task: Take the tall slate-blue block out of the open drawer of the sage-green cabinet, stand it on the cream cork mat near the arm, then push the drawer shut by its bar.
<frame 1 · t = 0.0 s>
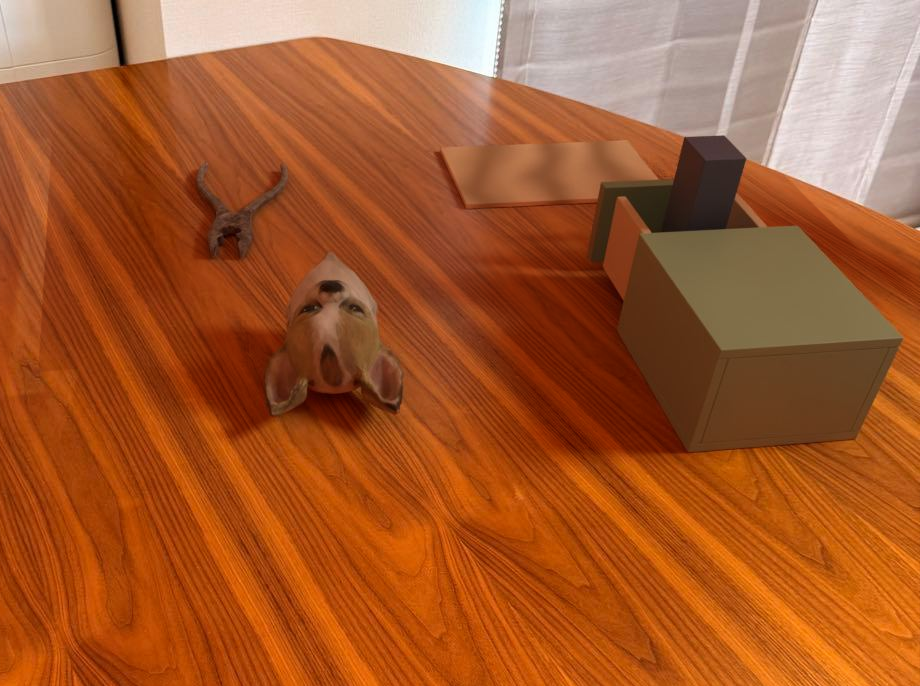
block: (678, 281, 87), point 2 cm above the table, touching drawer
cabinet: (728, 381, 79), on the table
drawer: (680, 247, 86), point 5 cm above the table, slide at 10.0 cm, touching block
mat: (551, 174, 106), on the table
pliers: (249, 210, 98), on the table
ceramic sculpture: (333, 381, 78), on the table
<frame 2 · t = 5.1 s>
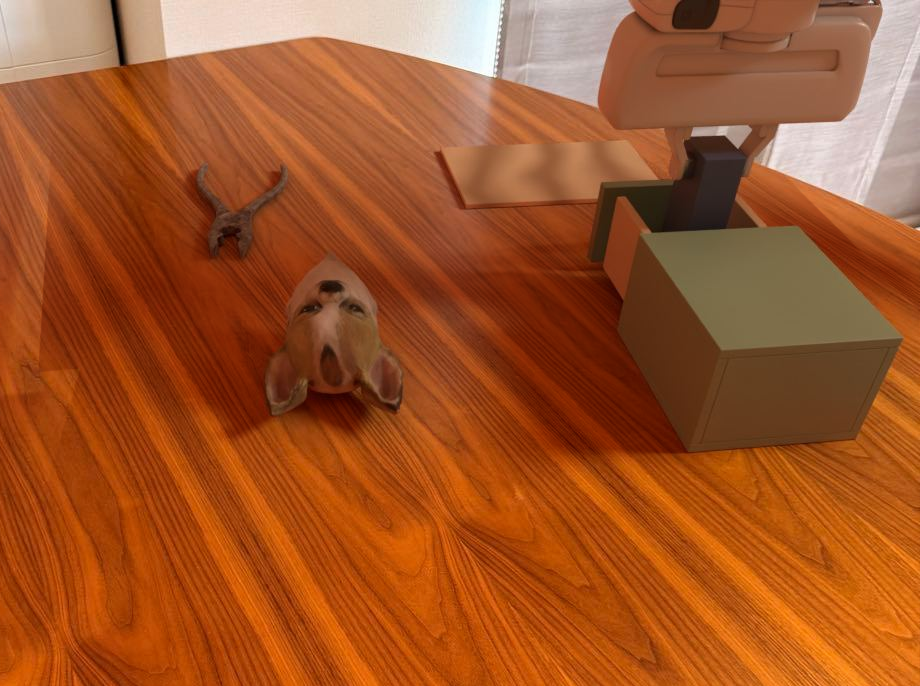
hand: (707, 176, 80), 12 cm above the table, tool pointing down, fingers closed on block, 3 cm apart
block: (678, 280, 87), point 2 cm above the table, touching drawer, gripper
everything else where it was.
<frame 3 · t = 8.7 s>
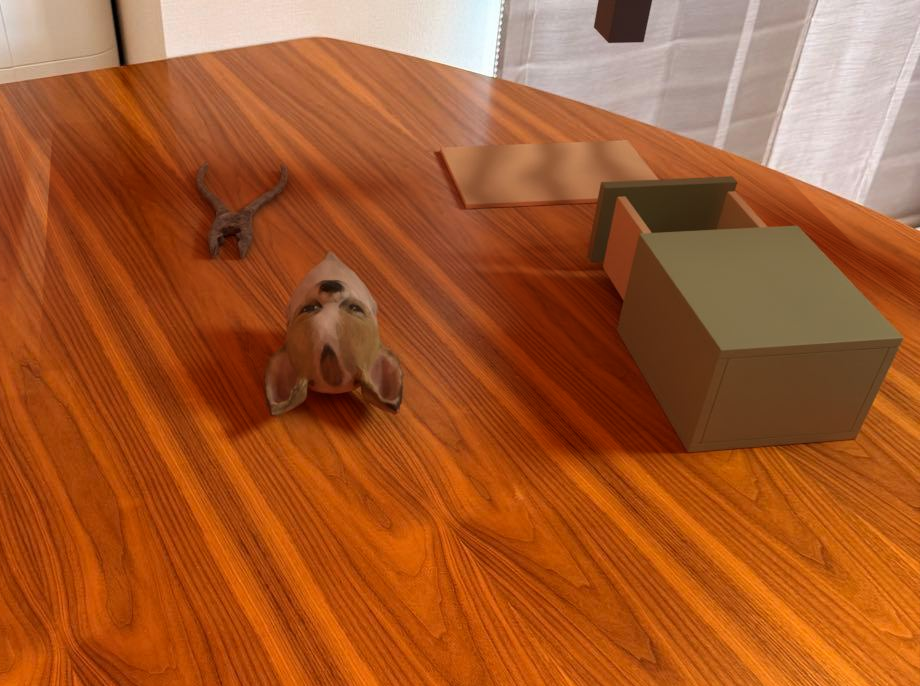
block: (618, 34, 93), point 15 cm above the table, touching gripper
drawer: (680, 247, 86), point 5 cm above the table, slide at 10.0 cm
everything else where it was.
when the fingers open (10 cm above the table, at t = 12.6 s): block stays where it is, resting on mat.
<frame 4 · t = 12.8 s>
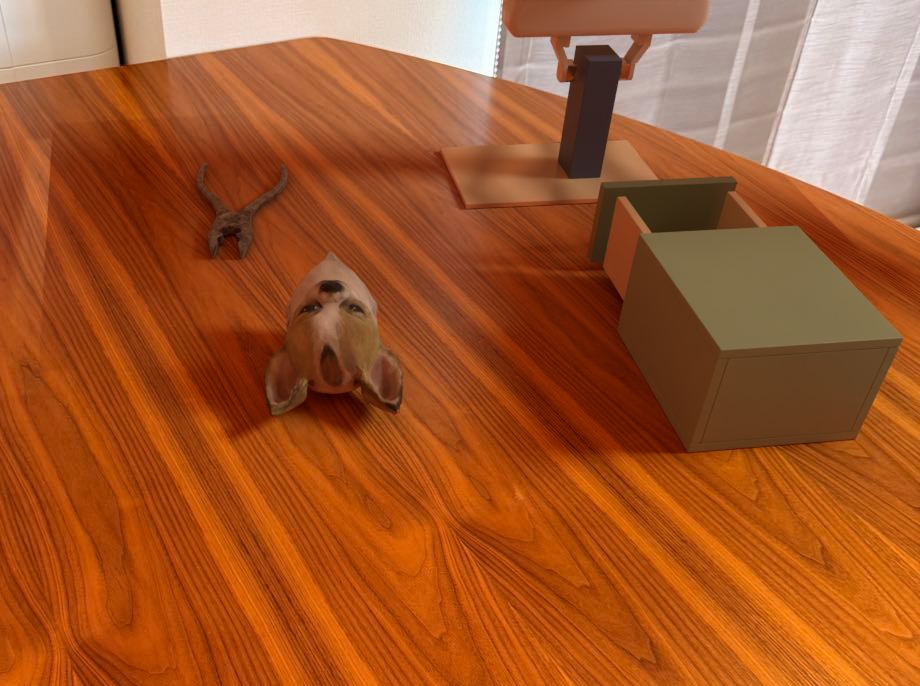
hand: (593, 79, 99), 10 cm above the table, tool pointing down, fingers open, 5 cm apart
block: (578, 169, 106), point 1 cm above the table, touching mat
everything else where it was.
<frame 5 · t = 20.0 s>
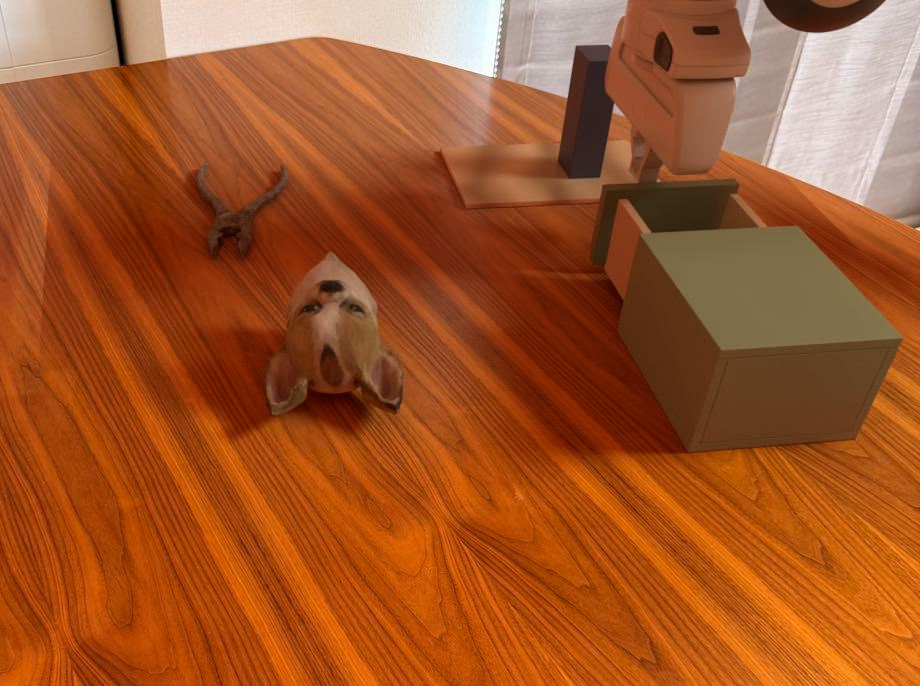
hand: (641, 179, 92), 6 cm above the table, tool pointing down, fingers closed
drawer: (682, 249, 85), point 5 cm above the table, slide at 9.5 cm, touching gripper
everything else where it was.
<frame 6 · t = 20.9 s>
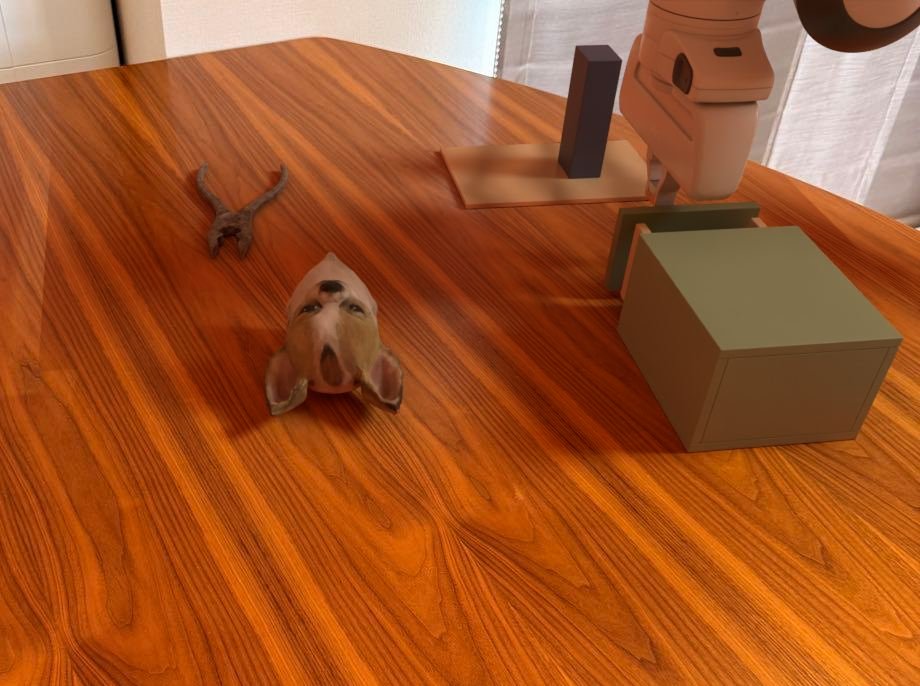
hand: (657, 202, 89), 6 cm above the table, tool pointing down, fingers closed
drawer: (701, 275, 82), point 5 cm above the table, slide at 5.0 cm, touching gripper
everything else where it was.
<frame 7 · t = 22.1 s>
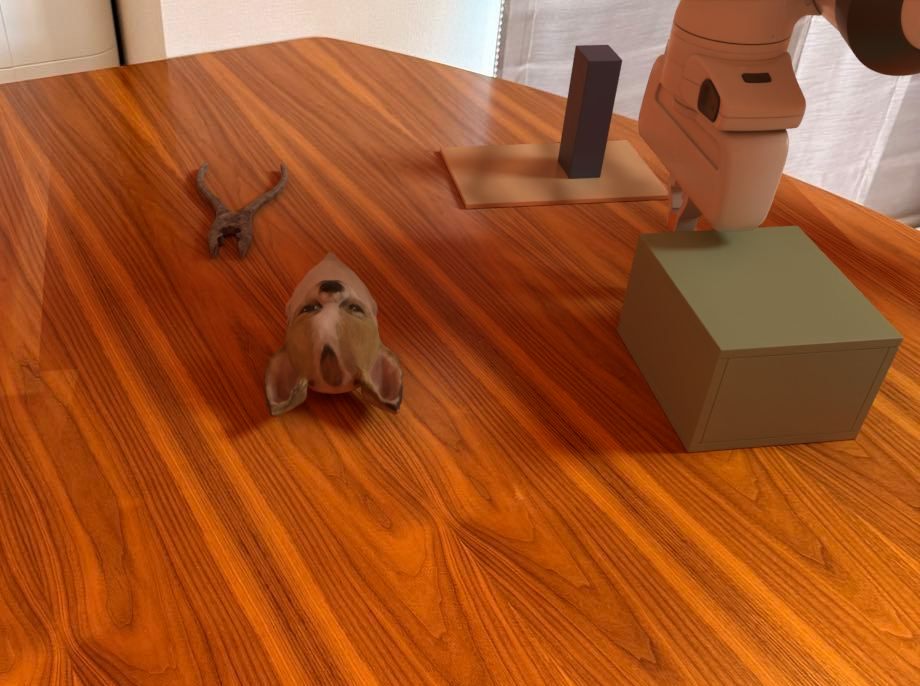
hand: (678, 230, 86), 6 cm above the table, tool pointing down, fingers closed
drawer: (725, 307, 79), point 5 cm above the table, slide at 0.0 cm, touching cabinet, gripper
everything else where it was.
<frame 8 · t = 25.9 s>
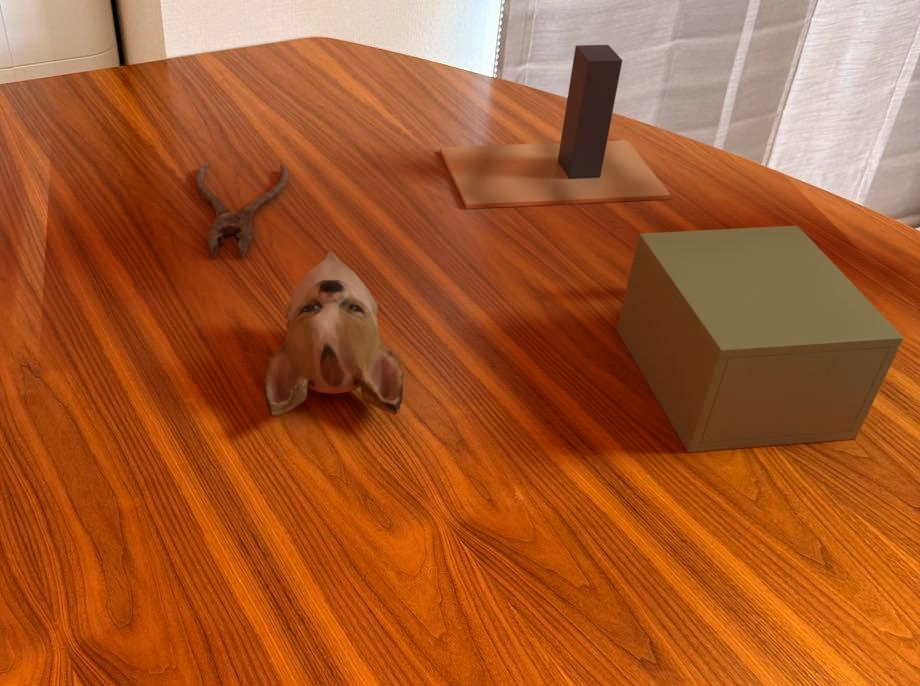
drawer: (725, 307, 79), point 5 cm above the table, slide at 0.0 cm
everything else where it was.
at the end: block inside the target area on the mat (1.5 cm from its centre), point 0.5 cm above the mat's base; block tilted 0°; drawer slide at 0.0 cm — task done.
